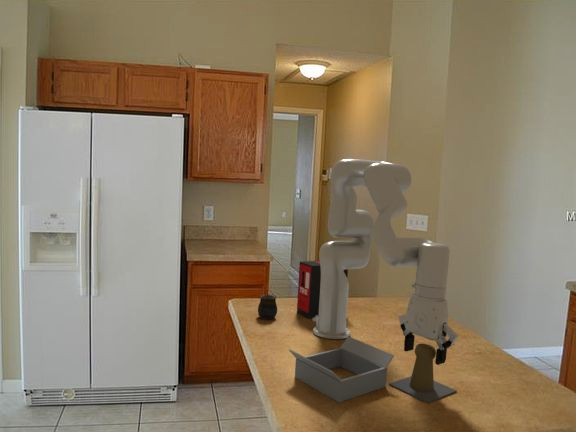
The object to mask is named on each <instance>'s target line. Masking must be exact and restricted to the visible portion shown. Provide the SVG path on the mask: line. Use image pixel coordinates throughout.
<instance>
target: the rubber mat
mask: <svg viewBox="0 0 576 432" xmlns="http://www.w3.org/2000/svg"><path fill="white" fill-rule="evenodd" d="M411 377H412V375H411V376H408V377H405V378H402V379H398V380H396V381H392V382H390V383H388V385H389V386H391V387H393V388H395V389H397V390H398V391H401V392H403V393H405V394H408V395H409V396H412V397H414V398H415V399H417V400H420V401H422V402H424V403H426V404H430V403H432V402H435V401H438V400H440V399H442V398H445V397H448V396H450V395H453V394H456V393H457V391H458V390H456V389H454V388H453V387H450V386H447V385H444V384H442V383H440V382H438V381H436V380H434V379H433V381H434V390H433V391H431V392H422V391H418V390H415V389H413V388H412V387H410V381H411Z"/></svg>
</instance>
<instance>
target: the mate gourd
mask: <svg viewBox="0 0 576 432" xmlns="http://www.w3.org/2000/svg"><path fill="white" fill-rule="evenodd" d="M276 298H277V297H276V296H274V295H272V294H269V293H268V294H267V293H266V294H263V295H260V299H259V300H260V301H259V304H258V306H257V314H258V317H260V319H262V320H272V319H274V318H276V316H277V313H278V306H277V302H276Z"/></svg>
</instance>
